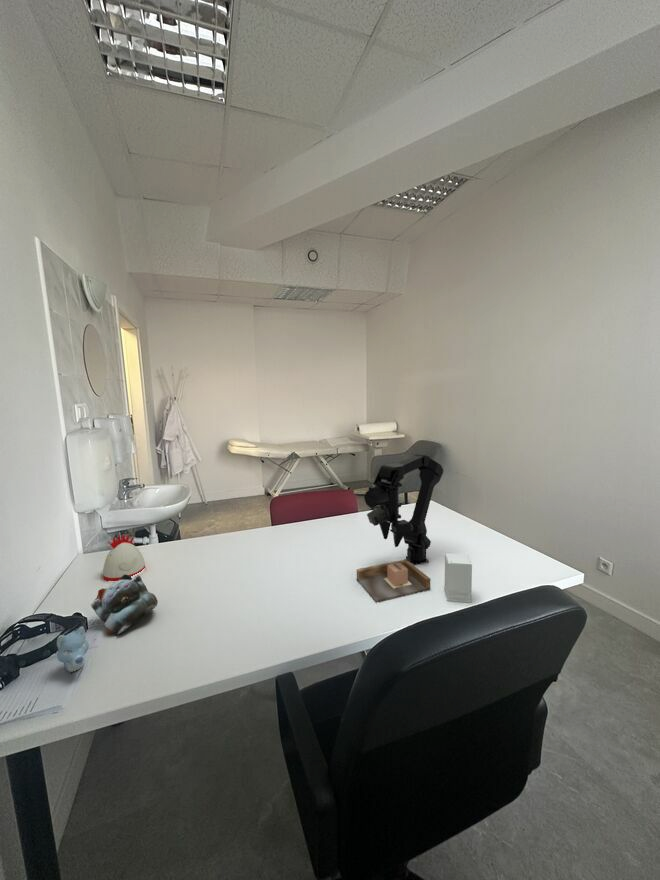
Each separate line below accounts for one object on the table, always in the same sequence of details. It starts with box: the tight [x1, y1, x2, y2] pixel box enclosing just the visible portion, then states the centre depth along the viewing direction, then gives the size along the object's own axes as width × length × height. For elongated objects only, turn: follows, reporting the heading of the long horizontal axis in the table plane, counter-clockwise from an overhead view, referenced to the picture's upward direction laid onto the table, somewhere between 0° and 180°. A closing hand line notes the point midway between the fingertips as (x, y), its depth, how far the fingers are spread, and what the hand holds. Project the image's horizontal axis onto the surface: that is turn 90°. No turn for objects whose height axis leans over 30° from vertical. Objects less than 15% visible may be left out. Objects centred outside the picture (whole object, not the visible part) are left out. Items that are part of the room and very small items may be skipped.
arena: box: [356, 559, 431, 604], centre depth 122 cm, size 20×15×4 cm
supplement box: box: [443, 552, 473, 604], centre depth 114 cm, size 7×7×13 cm
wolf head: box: [56, 625, 90, 673], centre depth 86 cm, size 6×9×10 cm
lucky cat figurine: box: [90, 574, 158, 636], centre depth 105 cm, size 15×12×14 cm
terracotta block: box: [387, 563, 408, 586], centre depth 123 cm, size 5×5×5 cm
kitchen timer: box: [102, 533, 146, 582], centre depth 135 cm, size 14×14×15 cm
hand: (390, 542), depth 128 cm, fingers open, 7 cm apart
